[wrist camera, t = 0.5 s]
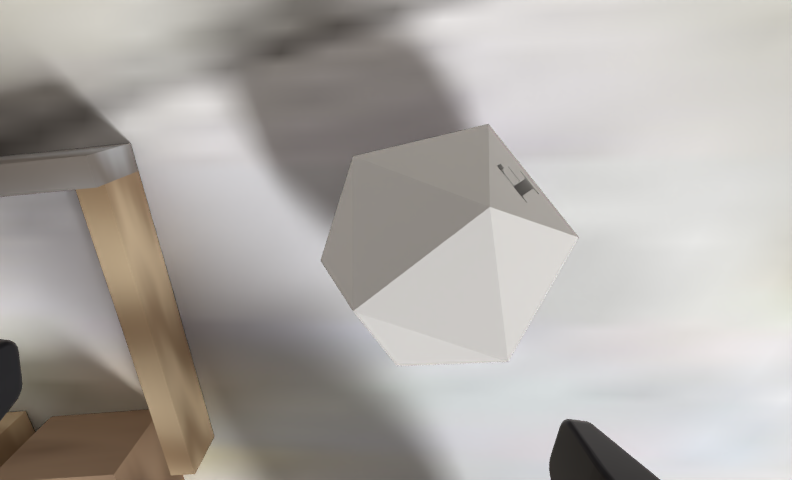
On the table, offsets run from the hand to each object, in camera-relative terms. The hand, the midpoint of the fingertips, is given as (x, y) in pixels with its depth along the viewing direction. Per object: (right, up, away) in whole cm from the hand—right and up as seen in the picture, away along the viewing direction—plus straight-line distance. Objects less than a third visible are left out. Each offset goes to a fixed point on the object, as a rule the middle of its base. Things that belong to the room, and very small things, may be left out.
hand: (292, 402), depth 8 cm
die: (+3, +4, +14) cm, 15 cm away
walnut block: (-13, -9, +19) cm, 25 cm away
